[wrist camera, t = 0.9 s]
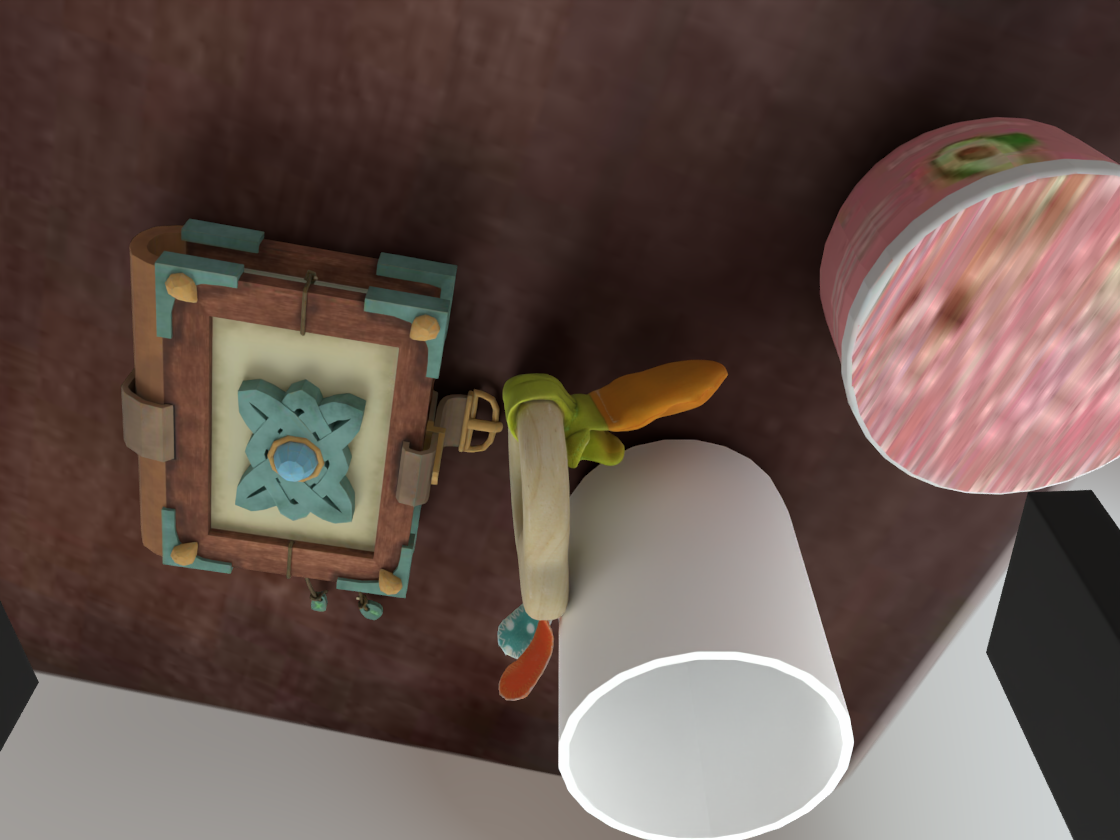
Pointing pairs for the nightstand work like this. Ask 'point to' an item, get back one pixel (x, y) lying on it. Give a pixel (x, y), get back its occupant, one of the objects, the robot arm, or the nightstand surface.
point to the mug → (693, 652)
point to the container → (982, 306)
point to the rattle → (543, 483)
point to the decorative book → (289, 405)
